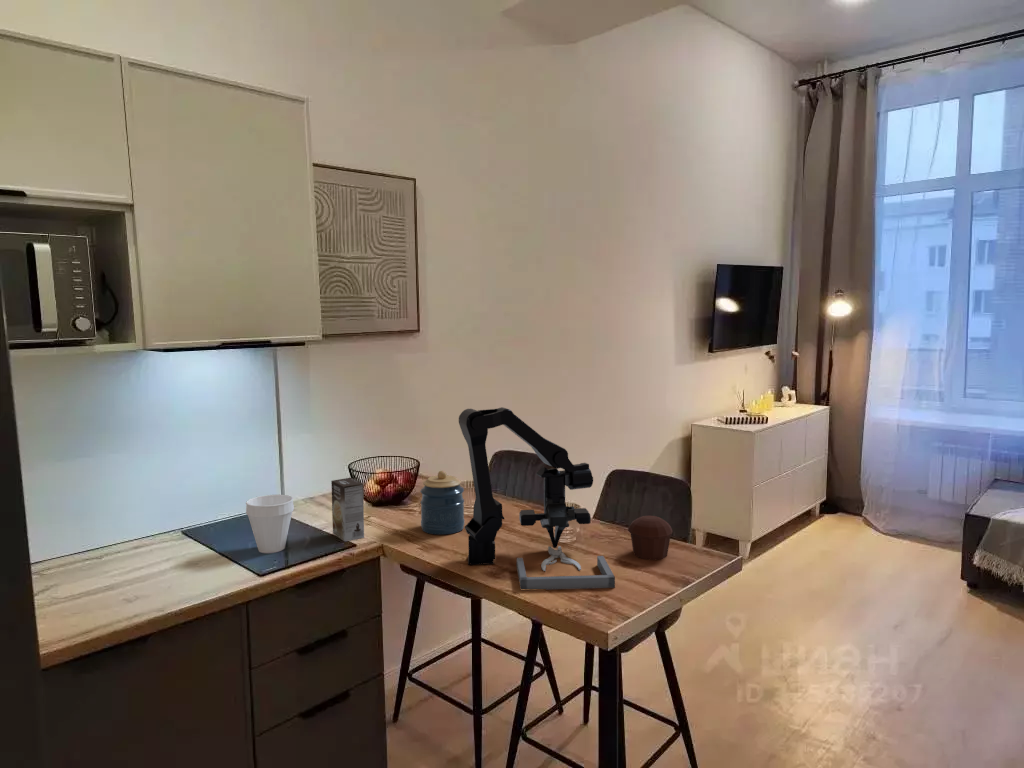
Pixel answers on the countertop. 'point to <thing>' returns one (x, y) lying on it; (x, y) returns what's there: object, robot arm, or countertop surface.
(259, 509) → the white flower pot
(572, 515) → the robot arm
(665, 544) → the muffin
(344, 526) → the coffee box
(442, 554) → the countertop surface
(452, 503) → the canister
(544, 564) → the pliers
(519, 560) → the tool holder
